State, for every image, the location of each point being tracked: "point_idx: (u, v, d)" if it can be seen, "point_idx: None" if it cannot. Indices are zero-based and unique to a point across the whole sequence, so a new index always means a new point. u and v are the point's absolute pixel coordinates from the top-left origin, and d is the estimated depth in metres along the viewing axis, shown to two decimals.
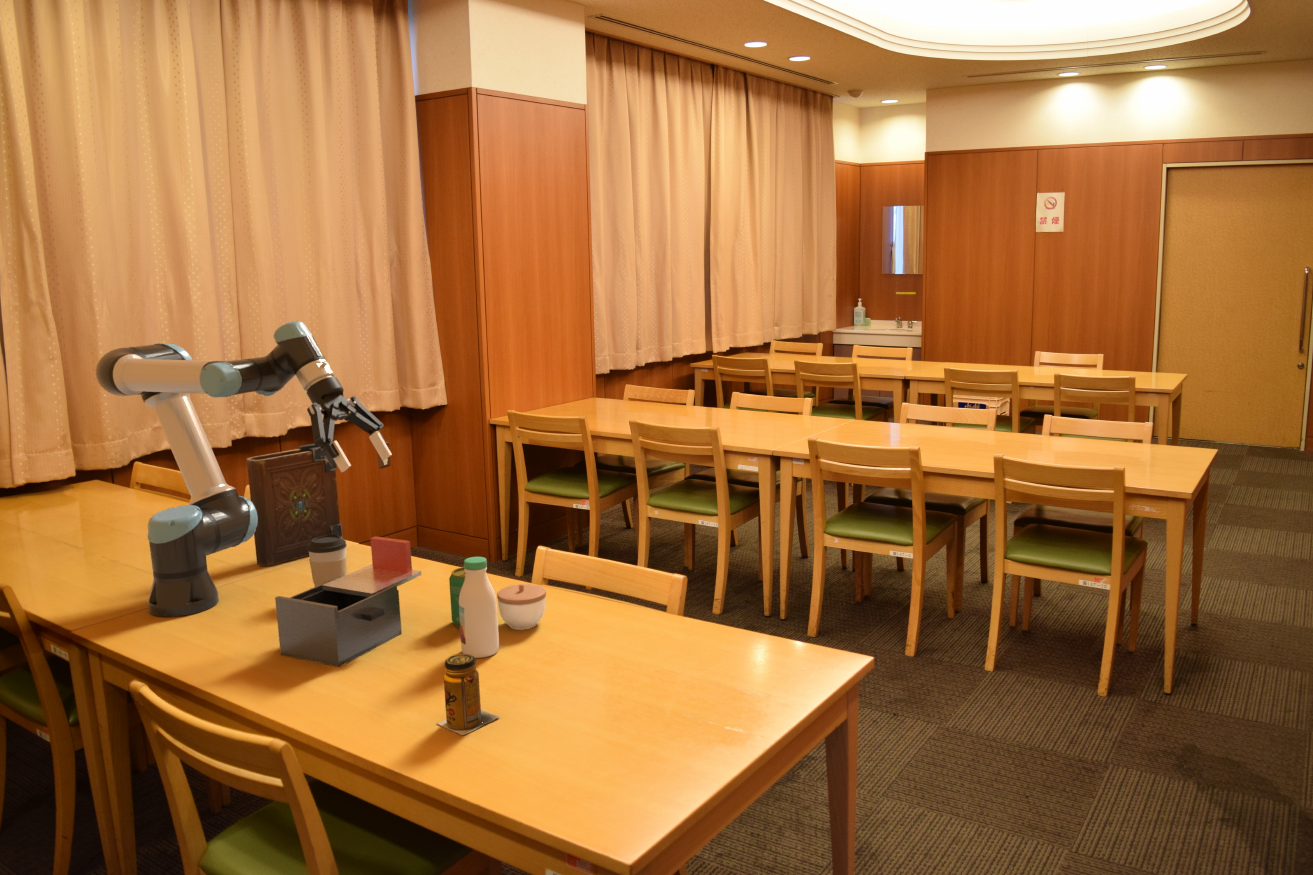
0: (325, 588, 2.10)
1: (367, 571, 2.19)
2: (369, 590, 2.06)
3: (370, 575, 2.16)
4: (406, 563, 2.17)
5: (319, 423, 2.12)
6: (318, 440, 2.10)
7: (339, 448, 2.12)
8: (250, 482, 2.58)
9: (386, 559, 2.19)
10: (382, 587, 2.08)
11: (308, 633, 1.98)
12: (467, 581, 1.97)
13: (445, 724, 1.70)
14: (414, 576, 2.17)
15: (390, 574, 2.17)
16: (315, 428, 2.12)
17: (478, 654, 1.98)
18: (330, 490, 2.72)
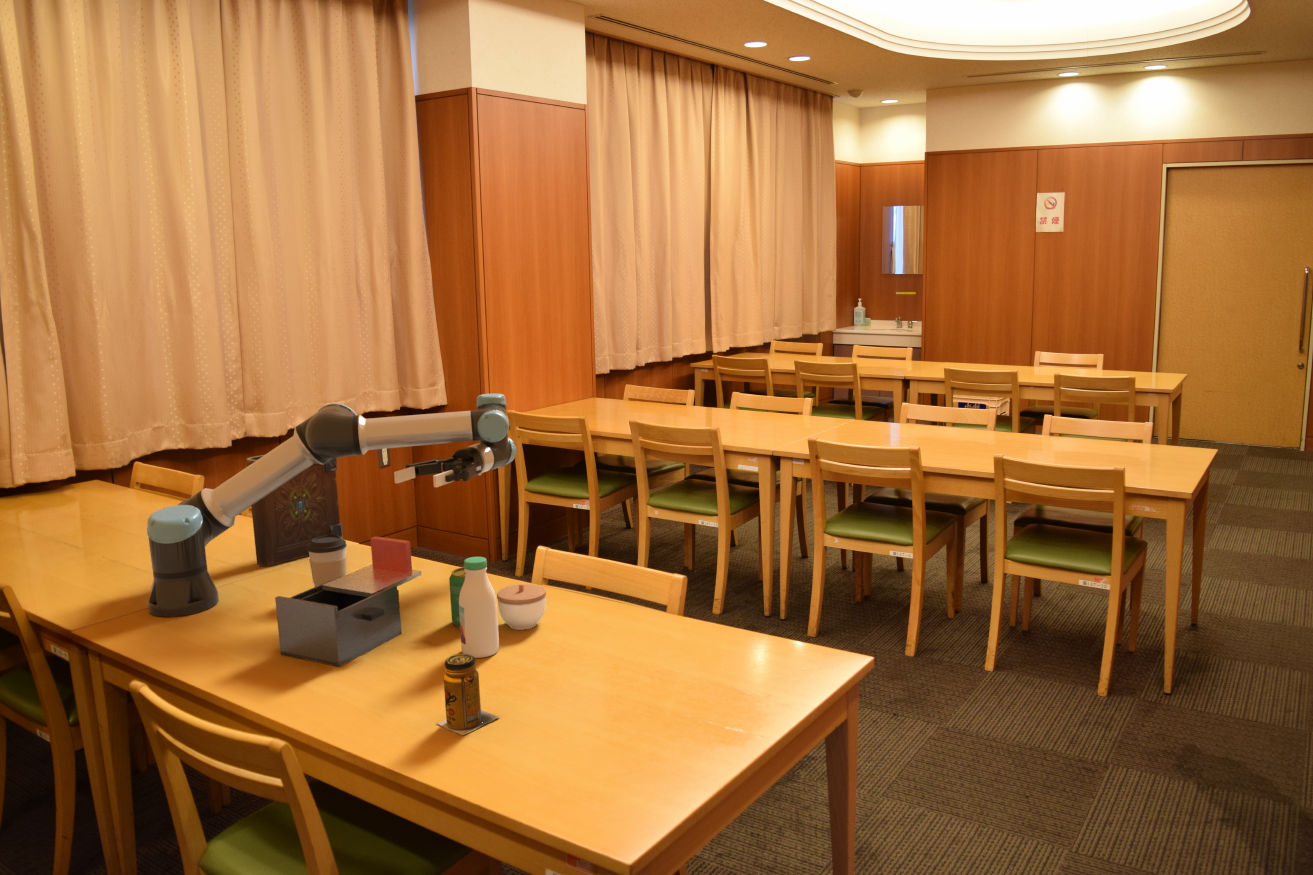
0: (325, 588, 2.10)
1: (367, 571, 2.19)
2: (369, 590, 2.06)
3: (370, 575, 2.16)
4: (406, 563, 2.17)
5: (471, 476, 2.33)
6: (467, 476, 2.29)
7: (447, 483, 2.27)
8: None
9: (386, 559, 2.19)
10: (382, 587, 2.08)
11: (308, 633, 1.98)
12: (467, 581, 1.97)
13: (445, 724, 1.70)
14: (414, 576, 2.17)
15: (390, 574, 2.17)
16: (471, 472, 2.32)
17: (478, 654, 1.98)
18: (330, 490, 2.72)
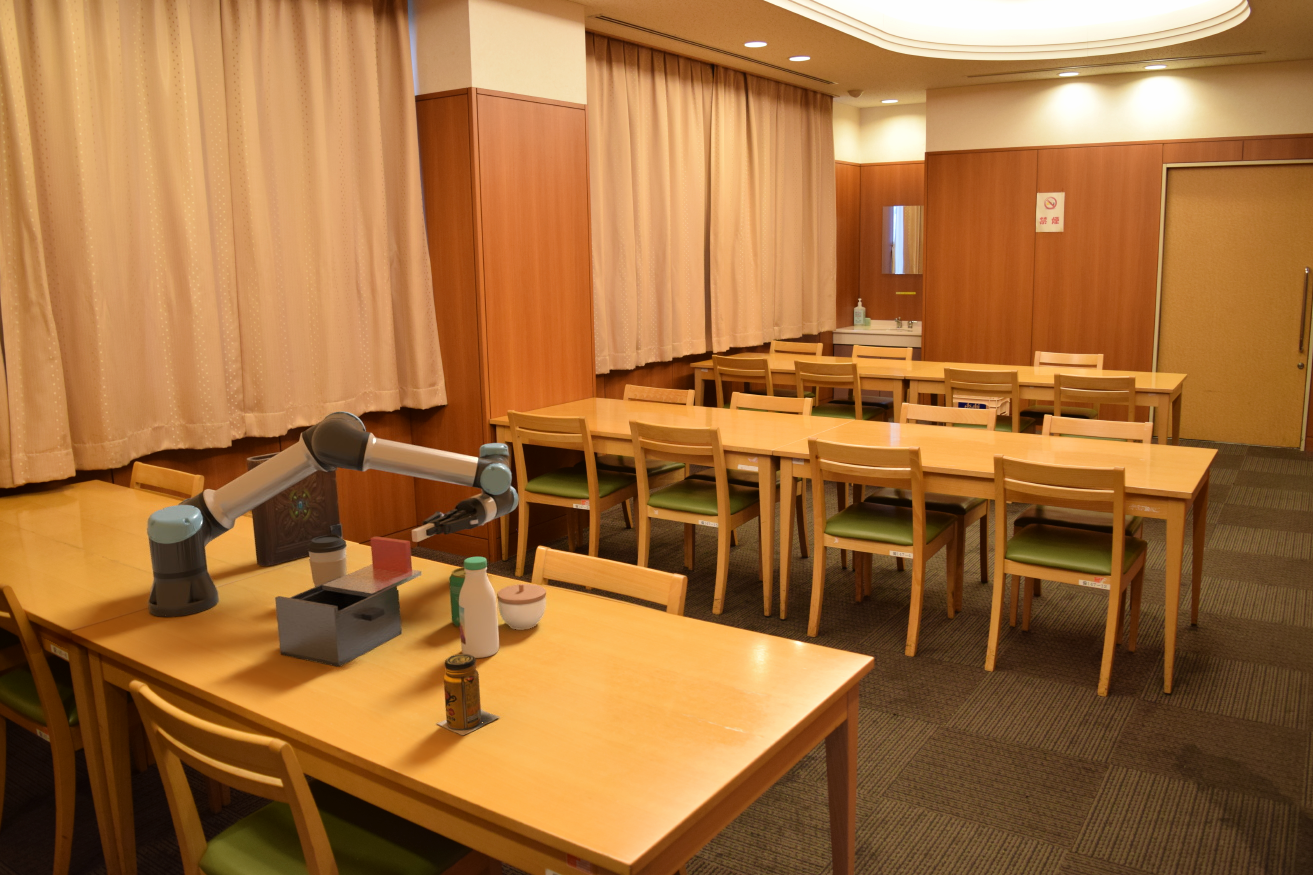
0: (325, 588, 2.10)
1: (367, 571, 2.19)
2: (369, 590, 2.06)
3: (370, 575, 2.16)
4: (406, 563, 2.17)
5: None
6: (448, 530, 2.32)
7: None
8: None
9: (386, 559, 2.19)
10: (382, 587, 2.08)
11: (308, 633, 1.98)
12: (467, 581, 1.97)
13: (445, 724, 1.70)
14: (414, 576, 2.17)
15: (390, 574, 2.17)
16: (457, 526, 2.34)
17: (478, 654, 1.98)
18: (330, 490, 2.72)
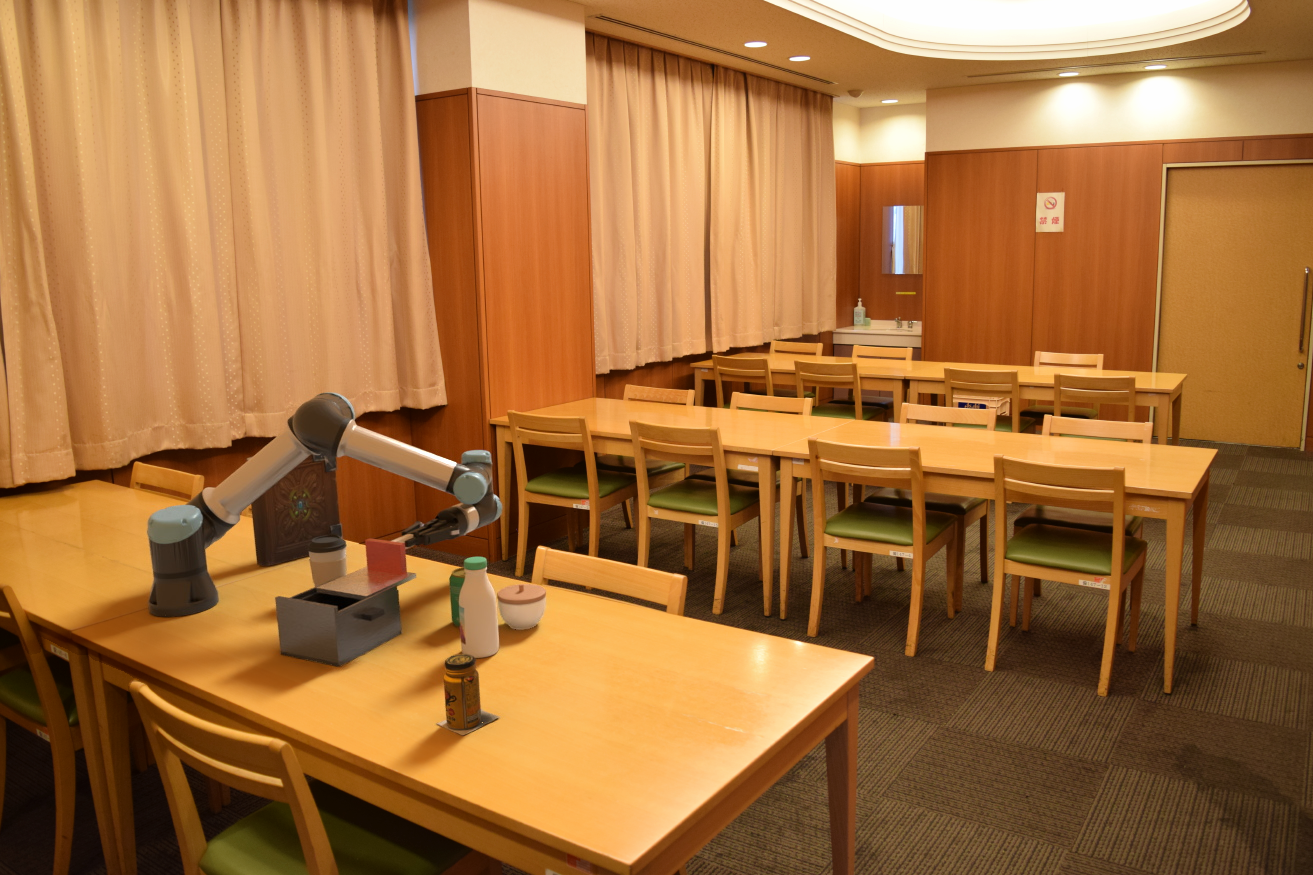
0: (319, 591, 2.09)
1: (362, 573, 2.18)
2: (363, 593, 2.05)
3: (364, 577, 2.15)
4: (401, 565, 2.16)
5: None
6: (427, 540, 2.24)
7: None
8: None
9: (380, 561, 2.18)
10: (376, 590, 2.07)
11: (308, 633, 1.98)
12: (467, 581, 1.97)
13: (445, 724, 1.70)
14: (409, 578, 2.15)
15: (385, 576, 2.15)
16: (437, 536, 2.26)
17: (478, 654, 1.98)
18: (330, 490, 2.72)
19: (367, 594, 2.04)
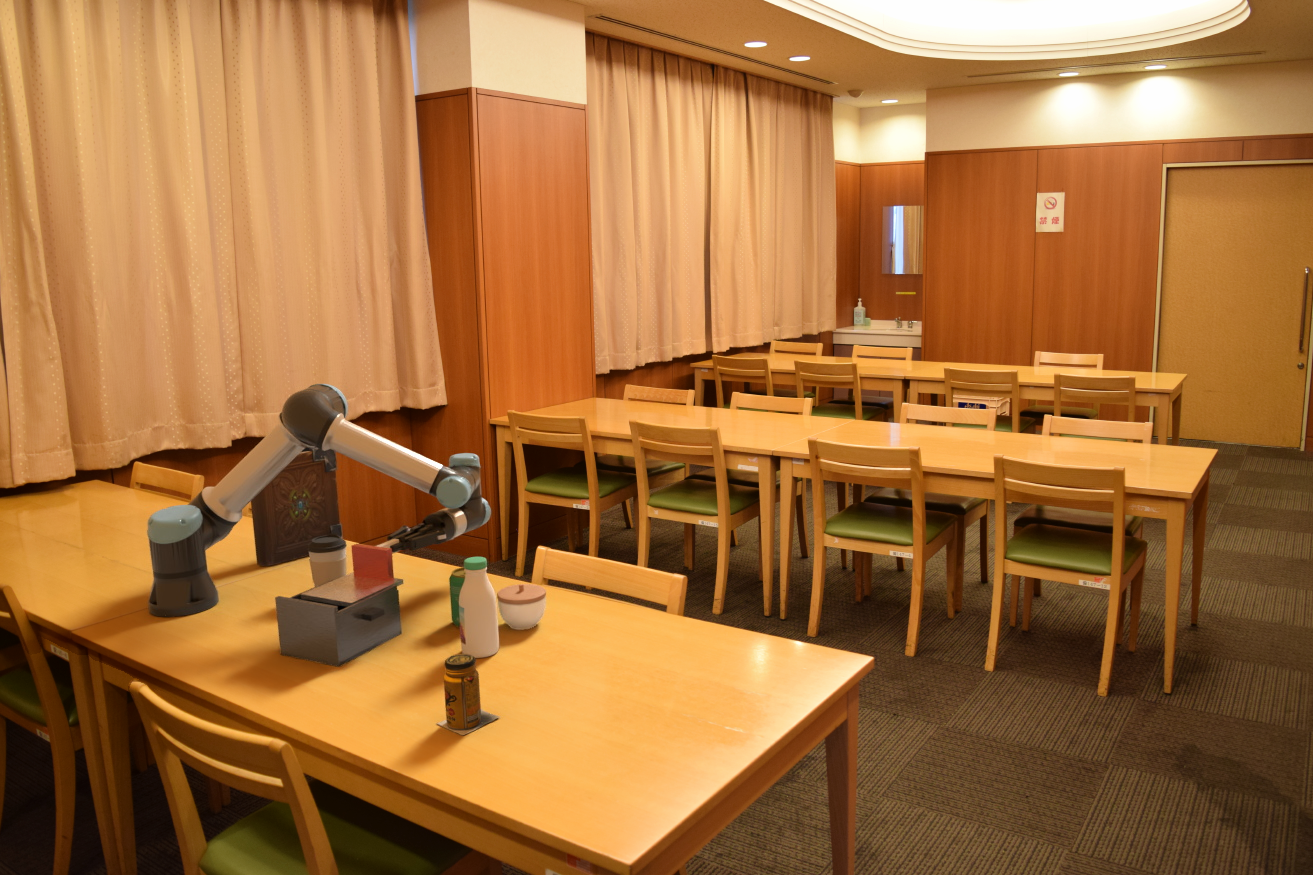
0: (304, 597, 2.05)
1: (348, 579, 2.14)
2: (348, 599, 2.01)
3: (350, 583, 2.11)
4: (387, 571, 2.12)
5: None
6: (413, 545, 2.20)
7: None
8: None
9: (367, 566, 2.14)
10: (362, 596, 2.03)
11: (308, 633, 1.98)
12: (467, 581, 1.97)
13: (445, 724, 1.70)
14: (396, 584, 2.11)
15: (371, 582, 2.11)
16: (424, 541, 2.22)
17: (478, 654, 1.98)
18: (330, 490, 2.72)
19: (352, 601, 2.00)
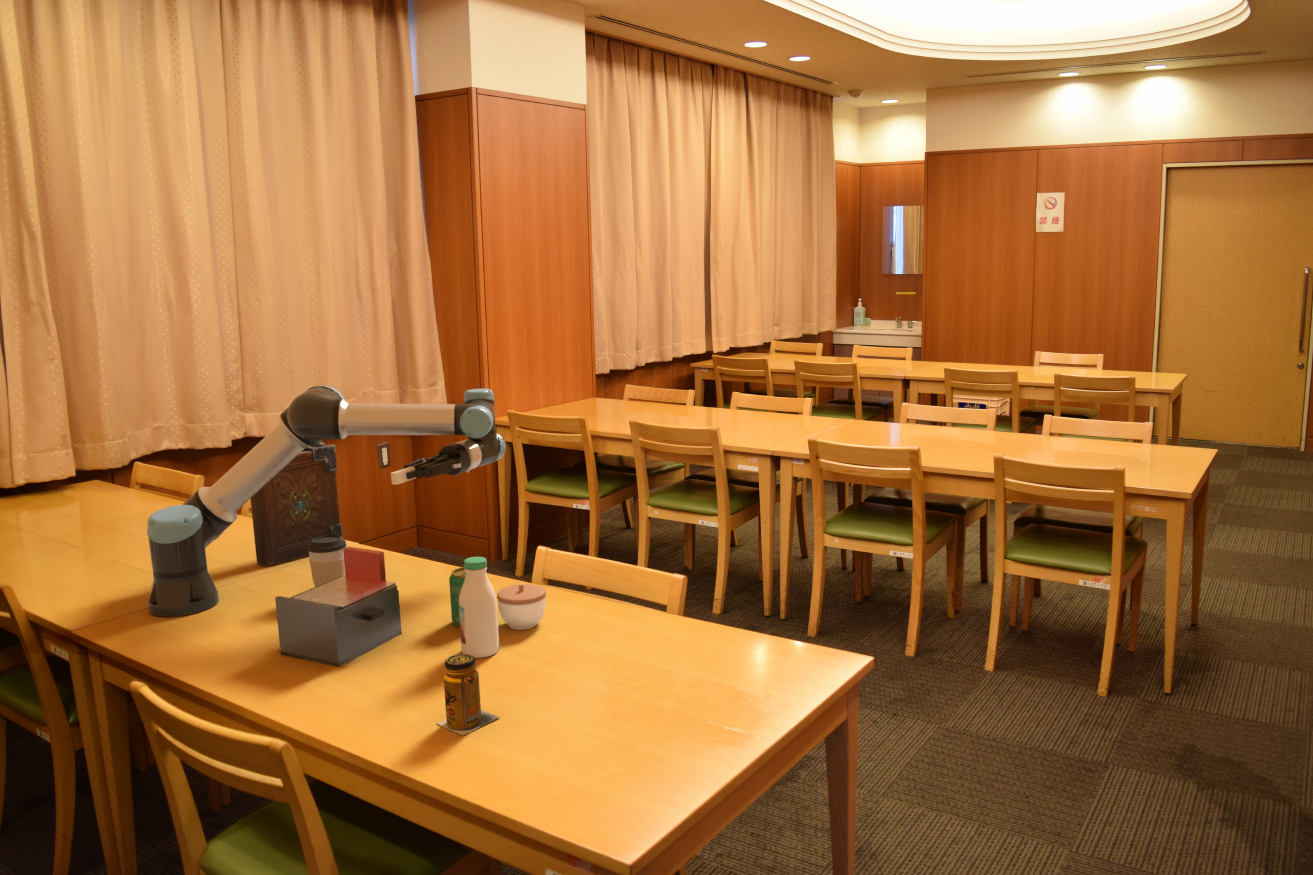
0: None
1: (340, 583, 2.11)
2: (340, 603, 1.99)
3: (342, 587, 2.09)
4: (380, 575, 2.09)
5: None
6: (429, 473, 2.25)
7: None
8: None
9: (359, 570, 2.12)
10: (354, 600, 2.00)
11: (308, 633, 1.98)
12: (467, 581, 1.97)
13: (445, 724, 1.70)
14: None
15: (363, 586, 2.09)
16: (439, 469, 2.27)
17: (478, 654, 1.98)
18: (330, 490, 2.72)
19: (344, 605, 1.98)
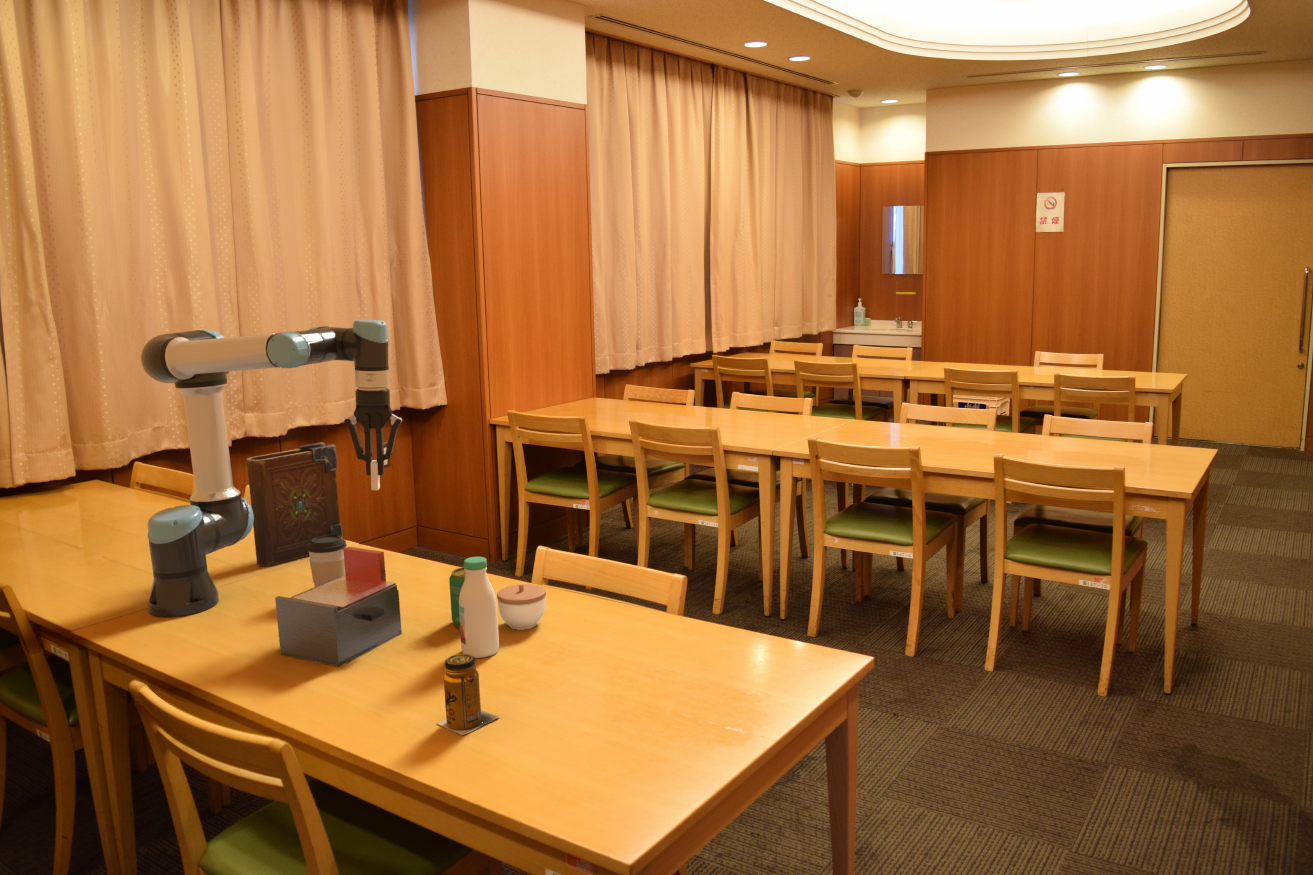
0: None
1: (340, 583, 2.11)
2: (340, 603, 1.99)
3: (342, 587, 2.09)
4: (380, 575, 2.09)
5: (353, 441, 2.22)
6: None
7: (372, 471, 2.23)
8: (250, 482, 2.58)
9: (359, 570, 2.12)
10: (354, 600, 2.00)
11: (308, 633, 1.98)
12: (467, 581, 1.97)
13: (445, 724, 1.70)
14: None
15: (363, 586, 2.09)
16: None
17: (478, 654, 1.98)
18: (330, 490, 2.72)
19: (344, 605, 1.98)
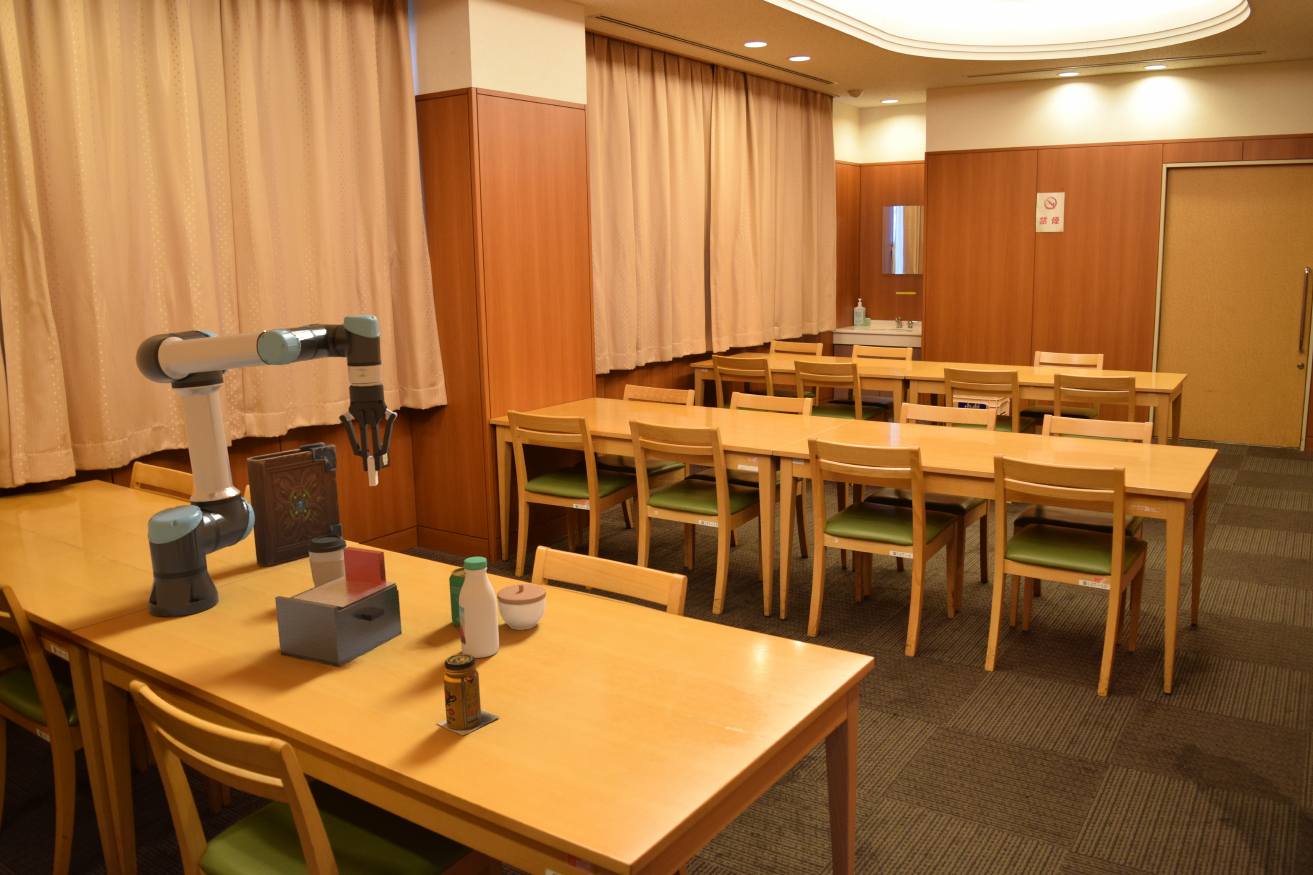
0: None
1: (340, 583, 2.11)
2: (340, 603, 1.99)
3: (342, 587, 2.09)
4: (380, 575, 2.09)
5: (349, 438, 2.21)
6: None
7: (369, 466, 2.23)
8: (250, 482, 2.58)
9: (359, 570, 2.12)
10: (354, 600, 2.00)
11: (308, 633, 1.98)
12: (467, 581, 1.97)
13: (445, 724, 1.70)
14: None
15: (363, 586, 2.09)
16: None
17: (478, 654, 1.98)
18: (330, 490, 2.72)
19: (344, 605, 1.98)
